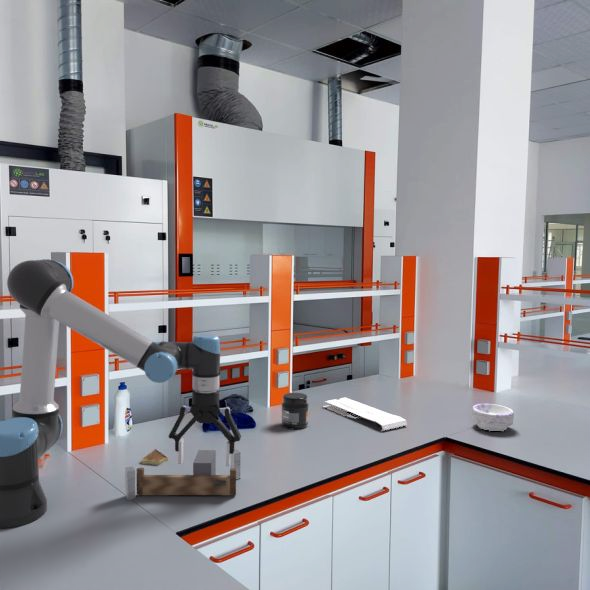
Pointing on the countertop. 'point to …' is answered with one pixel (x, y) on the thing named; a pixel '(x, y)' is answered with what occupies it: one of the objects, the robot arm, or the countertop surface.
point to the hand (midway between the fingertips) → (204, 463)
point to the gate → (186, 484)
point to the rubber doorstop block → (205, 463)
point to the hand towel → (366, 413)
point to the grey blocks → (131, 475)
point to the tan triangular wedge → (154, 458)
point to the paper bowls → (492, 416)
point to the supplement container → (294, 410)
